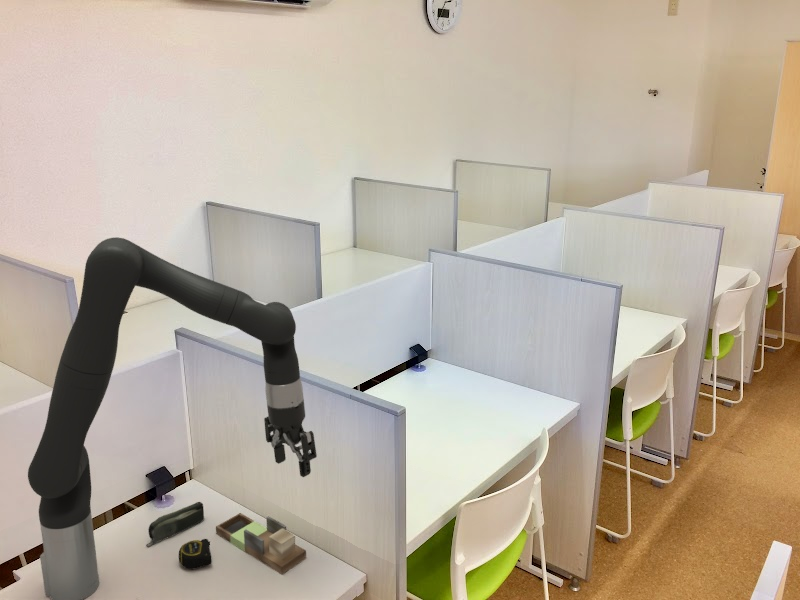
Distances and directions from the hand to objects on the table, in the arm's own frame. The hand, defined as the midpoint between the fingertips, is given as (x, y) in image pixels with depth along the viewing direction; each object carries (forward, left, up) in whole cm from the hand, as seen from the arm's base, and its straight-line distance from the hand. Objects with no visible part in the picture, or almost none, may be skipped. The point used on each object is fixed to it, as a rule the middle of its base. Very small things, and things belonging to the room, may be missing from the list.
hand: (293, 468), depth 144 cm
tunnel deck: (-9, +4, -23) cm, 25 cm away
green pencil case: (-30, +6, -23) cm, 39 cm away
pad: (-12, +6, -23) cm, 27 cm away
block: (-3, 0, -21) cm, 21 cm away
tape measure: (-21, -3, -23) cm, 32 cm away
